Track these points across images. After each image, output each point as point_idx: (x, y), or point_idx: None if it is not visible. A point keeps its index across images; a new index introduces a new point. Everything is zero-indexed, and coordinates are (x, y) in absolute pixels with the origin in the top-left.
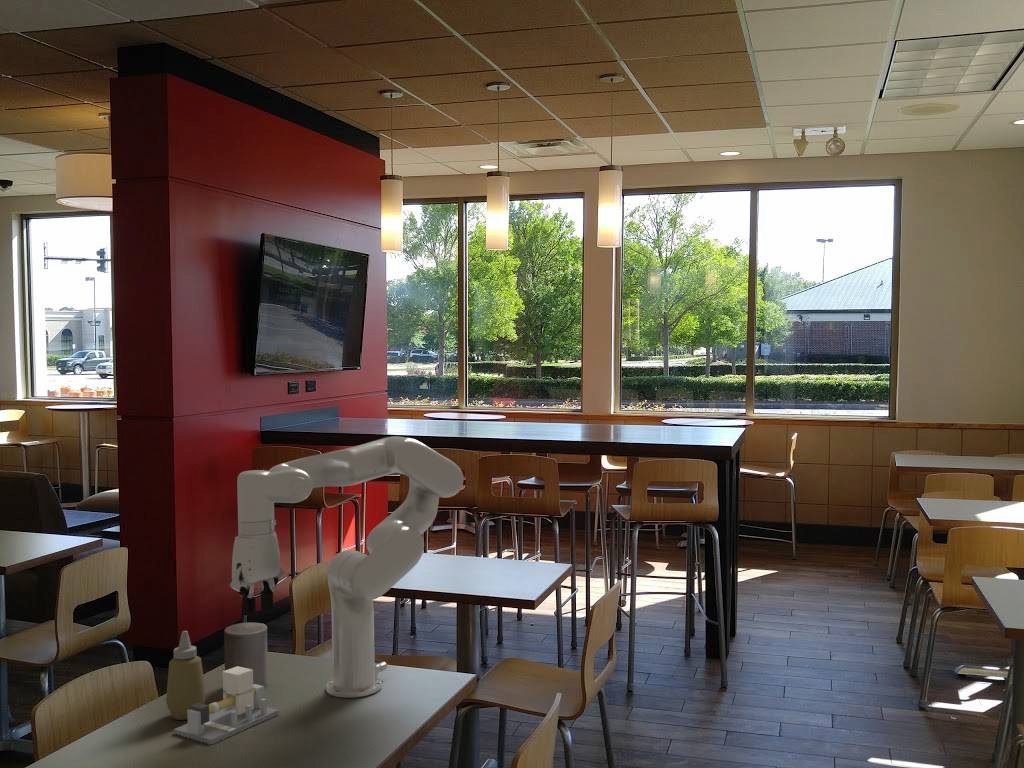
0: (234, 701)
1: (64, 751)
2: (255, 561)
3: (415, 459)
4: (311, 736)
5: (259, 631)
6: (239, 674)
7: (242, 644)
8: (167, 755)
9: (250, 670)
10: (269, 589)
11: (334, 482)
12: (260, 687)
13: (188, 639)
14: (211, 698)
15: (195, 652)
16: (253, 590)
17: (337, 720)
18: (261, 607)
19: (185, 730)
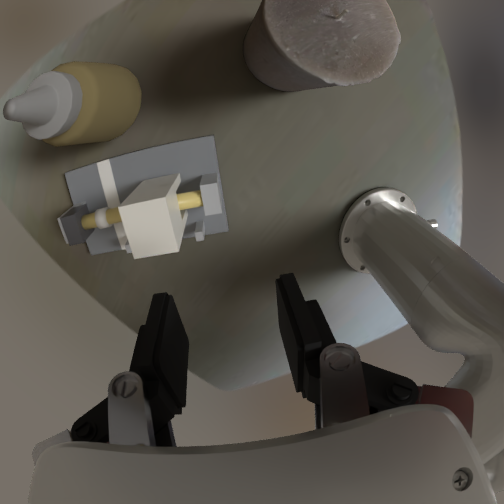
0: None
1: None
2: None
3: None
4: (209, 322)
5: (345, 80)
6: (138, 257)
7: (278, 62)
8: (44, 238)
9: (171, 252)
10: (315, 398)
11: None
12: (212, 213)
13: (31, 118)
14: (199, 51)
15: (66, 127)
16: (174, 445)
17: (269, 307)
18: (277, 284)
19: (74, 193)
